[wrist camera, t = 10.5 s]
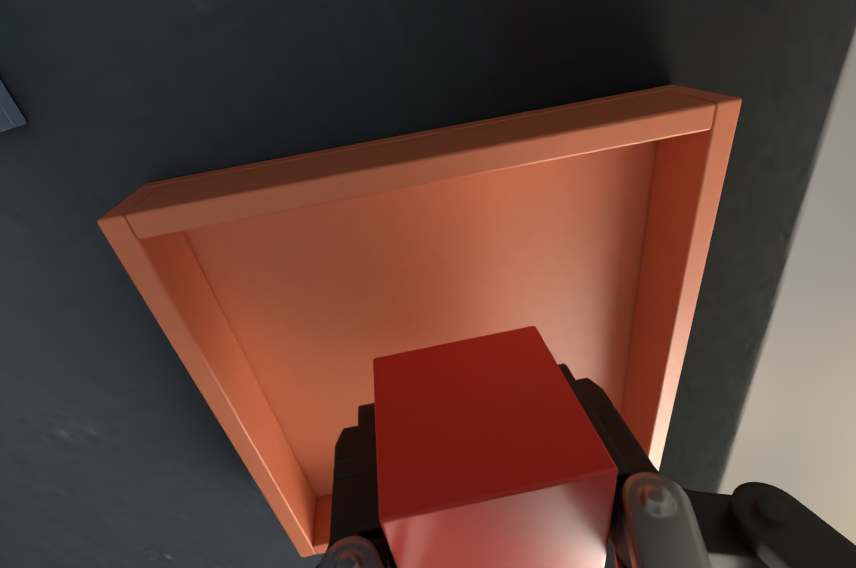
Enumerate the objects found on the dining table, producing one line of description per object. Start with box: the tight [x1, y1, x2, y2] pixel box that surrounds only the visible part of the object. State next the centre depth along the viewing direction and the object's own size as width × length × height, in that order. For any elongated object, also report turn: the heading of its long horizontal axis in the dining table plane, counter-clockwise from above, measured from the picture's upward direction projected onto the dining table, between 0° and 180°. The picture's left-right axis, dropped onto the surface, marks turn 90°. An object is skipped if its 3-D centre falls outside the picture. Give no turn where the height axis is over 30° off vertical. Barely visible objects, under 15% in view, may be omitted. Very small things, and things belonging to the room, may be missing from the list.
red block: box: [373, 326, 618, 568], centre depth 11 cm, size 4×4×4 cm
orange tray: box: [97, 84, 742, 557], centre depth 14 cm, size 14×14×2 cm
